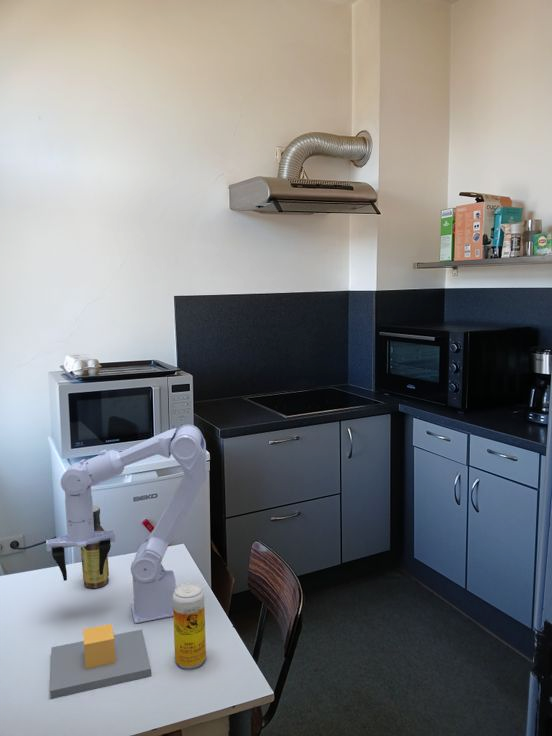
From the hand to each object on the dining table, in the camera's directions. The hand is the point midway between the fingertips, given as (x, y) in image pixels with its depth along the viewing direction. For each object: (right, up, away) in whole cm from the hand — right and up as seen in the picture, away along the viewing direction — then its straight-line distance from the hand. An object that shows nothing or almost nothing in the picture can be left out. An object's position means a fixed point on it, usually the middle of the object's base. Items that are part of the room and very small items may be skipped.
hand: (83, 575), depth 134 cm
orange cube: (+9, -10, -17) cm, 22 cm away
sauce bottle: (-2, -8, +15) cm, 17 cm away
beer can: (+26, -12, -16) cm, 33 cm away
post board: (+9, -12, -17) cm, 22 cm away
